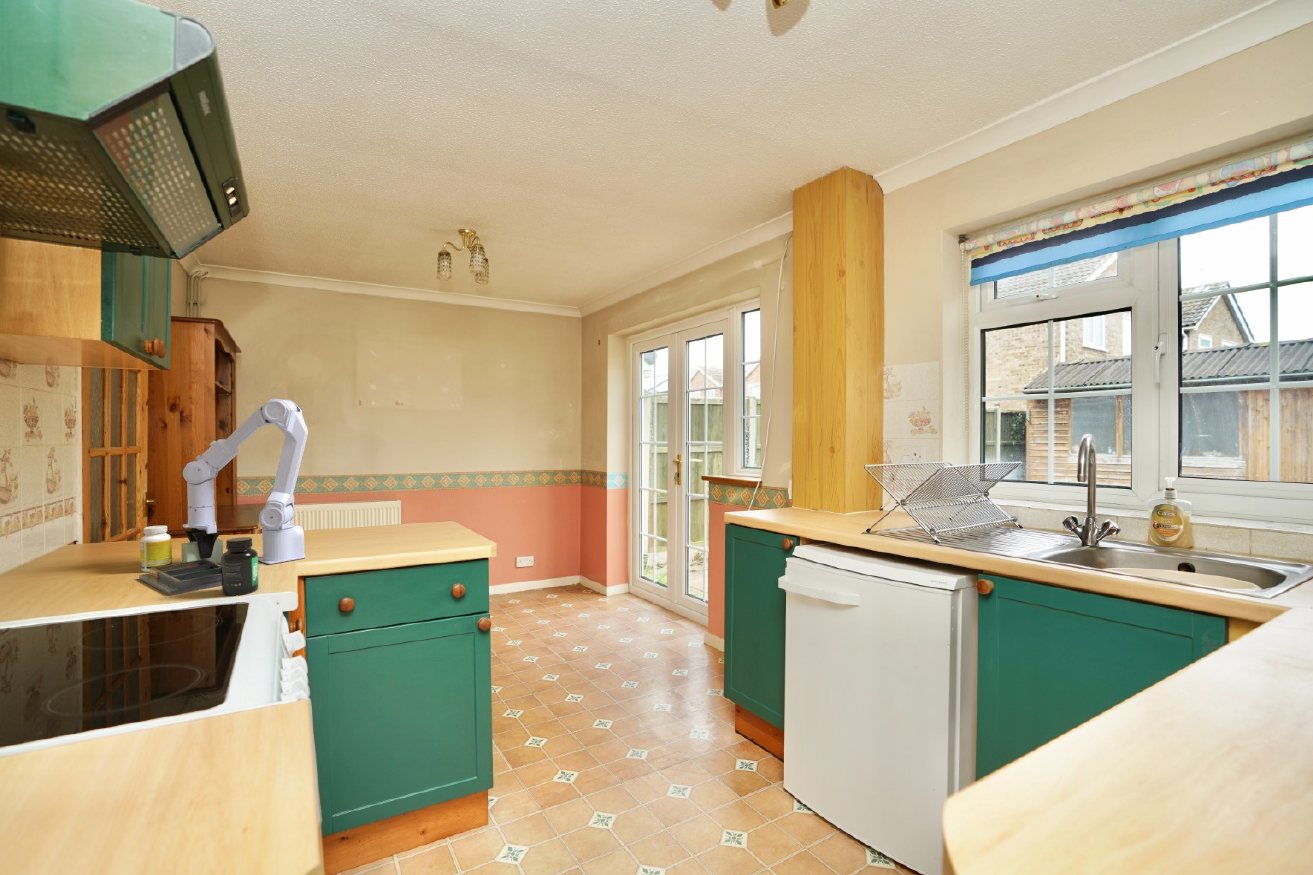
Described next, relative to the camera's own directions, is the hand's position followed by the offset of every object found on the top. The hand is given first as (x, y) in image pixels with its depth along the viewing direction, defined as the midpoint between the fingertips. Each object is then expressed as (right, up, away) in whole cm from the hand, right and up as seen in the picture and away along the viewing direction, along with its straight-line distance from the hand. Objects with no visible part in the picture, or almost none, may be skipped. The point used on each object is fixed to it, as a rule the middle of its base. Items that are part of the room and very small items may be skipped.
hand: (202, 557), depth 162 cm
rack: (+9, -3, -15) cm, 18 cm away
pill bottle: (-8, -2, -5) cm, 10 cm away
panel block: (0, -2, 0) cm, 2 cm away
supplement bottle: (+27, -3, -24) cm, 36 cm away
